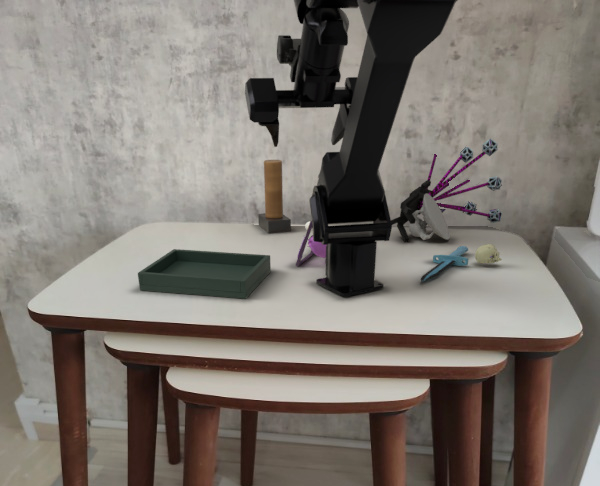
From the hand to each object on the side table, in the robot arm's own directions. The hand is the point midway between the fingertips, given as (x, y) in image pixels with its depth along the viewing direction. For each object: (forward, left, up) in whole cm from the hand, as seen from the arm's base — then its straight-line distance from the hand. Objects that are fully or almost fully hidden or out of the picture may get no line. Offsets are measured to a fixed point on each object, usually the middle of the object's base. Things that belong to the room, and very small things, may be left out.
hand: (304, 143), depth 94 cm
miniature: (-14, -16, -10) cm, 24 cm away
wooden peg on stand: (+7, +2, -14) cm, 16 cm away
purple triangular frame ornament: (-14, +6, -14) cm, 21 cm away
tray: (-13, +24, -14) cm, 31 cm away
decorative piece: (-11, -6, -12) cm, 18 cm away
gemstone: (-28, -13, -14) cm, 34 cm away
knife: (-24, -5, -14) cm, 28 cm away
